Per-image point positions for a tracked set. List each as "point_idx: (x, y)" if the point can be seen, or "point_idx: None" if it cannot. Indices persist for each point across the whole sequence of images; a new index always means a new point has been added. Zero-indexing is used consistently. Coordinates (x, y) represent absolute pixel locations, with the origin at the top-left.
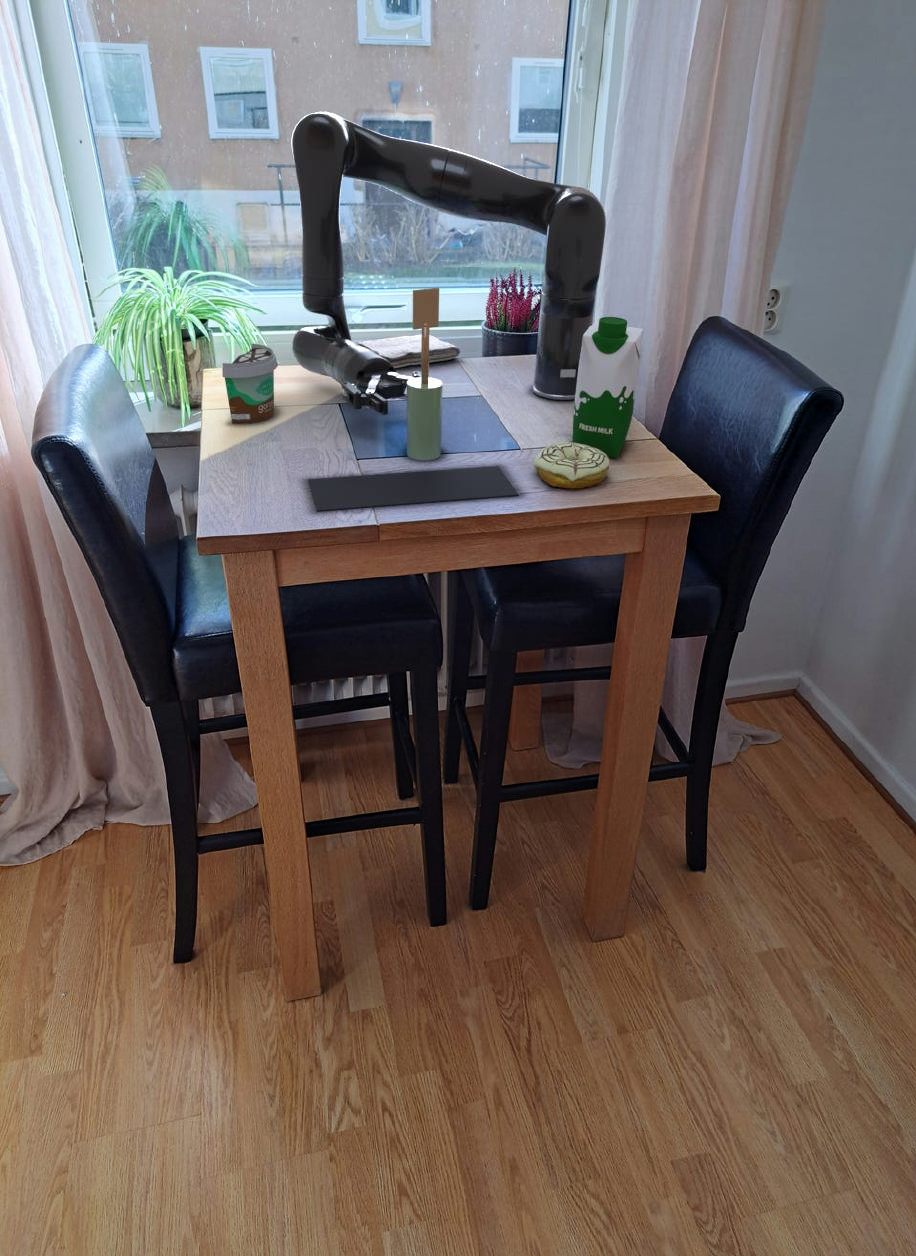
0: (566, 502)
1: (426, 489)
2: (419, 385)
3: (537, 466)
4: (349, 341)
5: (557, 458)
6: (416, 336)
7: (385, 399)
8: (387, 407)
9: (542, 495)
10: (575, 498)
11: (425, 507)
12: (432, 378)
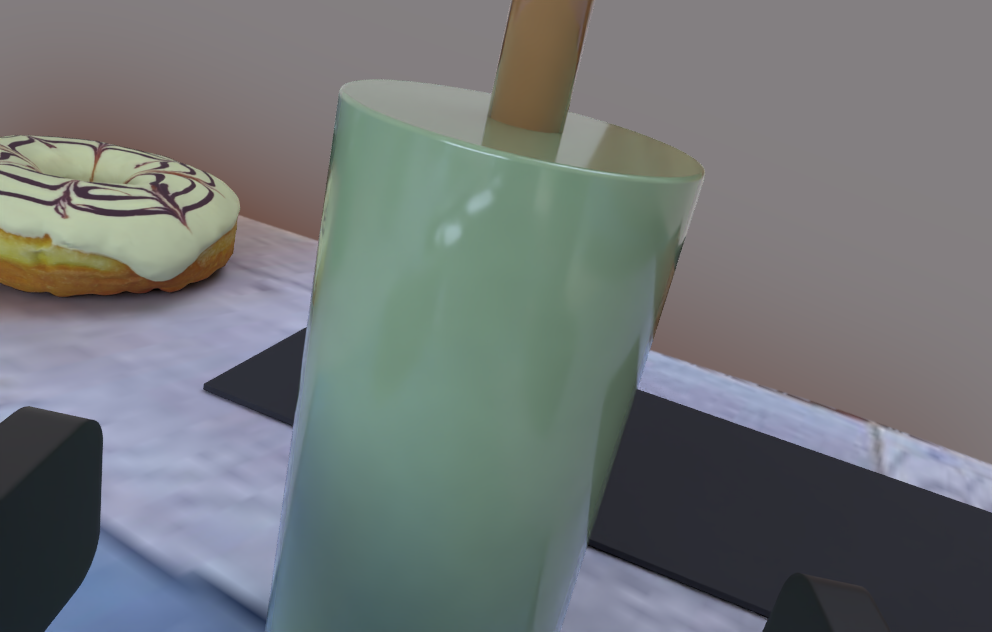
0: (283, 241)
1: (638, 439)
2: (610, 133)
3: (212, 243)
4: None
5: (180, 179)
6: None
7: (820, 595)
8: (771, 624)
9: (298, 272)
10: (239, 235)
11: (691, 400)
12: (368, 101)
